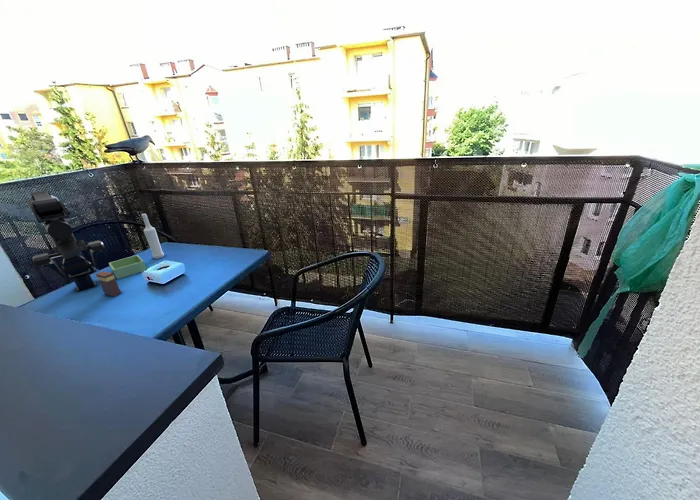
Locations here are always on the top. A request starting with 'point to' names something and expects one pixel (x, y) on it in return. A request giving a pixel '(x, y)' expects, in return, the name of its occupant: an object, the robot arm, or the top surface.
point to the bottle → (152, 239)
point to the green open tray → (127, 266)
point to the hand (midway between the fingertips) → (81, 273)
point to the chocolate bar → (108, 283)
